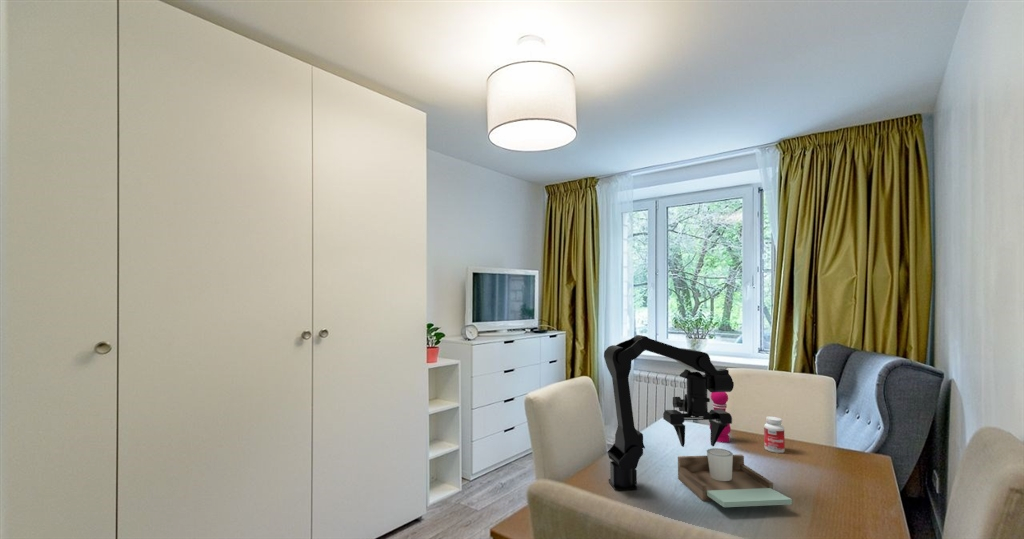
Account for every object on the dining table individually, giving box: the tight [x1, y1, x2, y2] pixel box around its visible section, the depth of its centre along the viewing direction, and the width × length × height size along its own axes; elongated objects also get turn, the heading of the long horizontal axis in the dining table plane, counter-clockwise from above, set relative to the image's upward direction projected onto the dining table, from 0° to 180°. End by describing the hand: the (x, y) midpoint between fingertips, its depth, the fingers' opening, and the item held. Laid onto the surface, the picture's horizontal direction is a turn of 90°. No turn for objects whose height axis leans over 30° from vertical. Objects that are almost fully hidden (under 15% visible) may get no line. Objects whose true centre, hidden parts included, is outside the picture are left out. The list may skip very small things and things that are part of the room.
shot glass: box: [706, 447, 734, 481], centre depth 127 cm, size 7×7×7 cm
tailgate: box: [707, 488, 793, 508], centre depth 114 cm, size 18×1×8 cm
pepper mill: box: [709, 392, 732, 443], centre depth 167 cm, size 7×7×20 cm
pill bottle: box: [763, 416, 786, 454], centre depth 156 cm, size 6×6×11 cm
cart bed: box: [677, 453, 774, 502], centre depth 126 cm, size 20×14×6 cm
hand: (697, 446), depth 132 cm, fingers open, 9 cm apart
